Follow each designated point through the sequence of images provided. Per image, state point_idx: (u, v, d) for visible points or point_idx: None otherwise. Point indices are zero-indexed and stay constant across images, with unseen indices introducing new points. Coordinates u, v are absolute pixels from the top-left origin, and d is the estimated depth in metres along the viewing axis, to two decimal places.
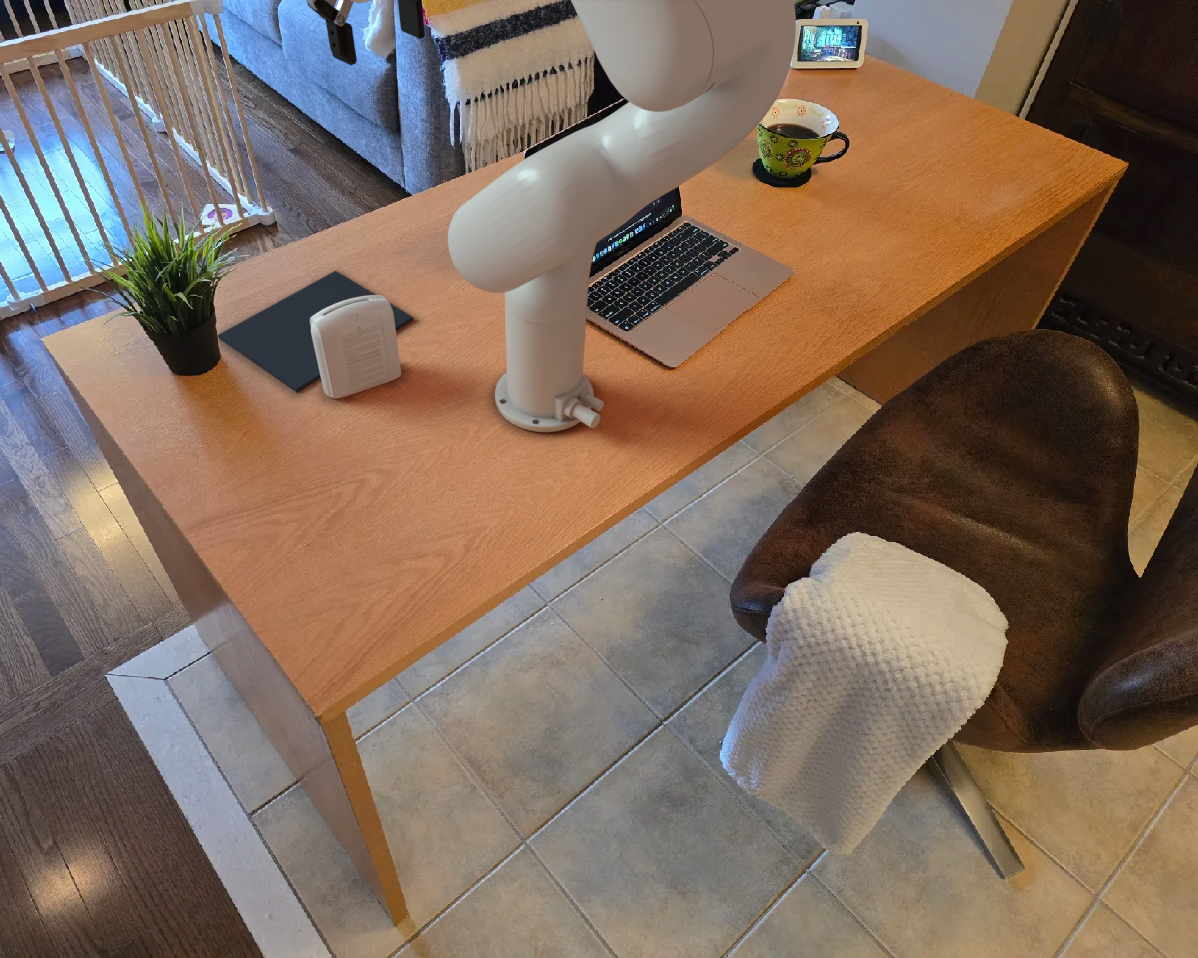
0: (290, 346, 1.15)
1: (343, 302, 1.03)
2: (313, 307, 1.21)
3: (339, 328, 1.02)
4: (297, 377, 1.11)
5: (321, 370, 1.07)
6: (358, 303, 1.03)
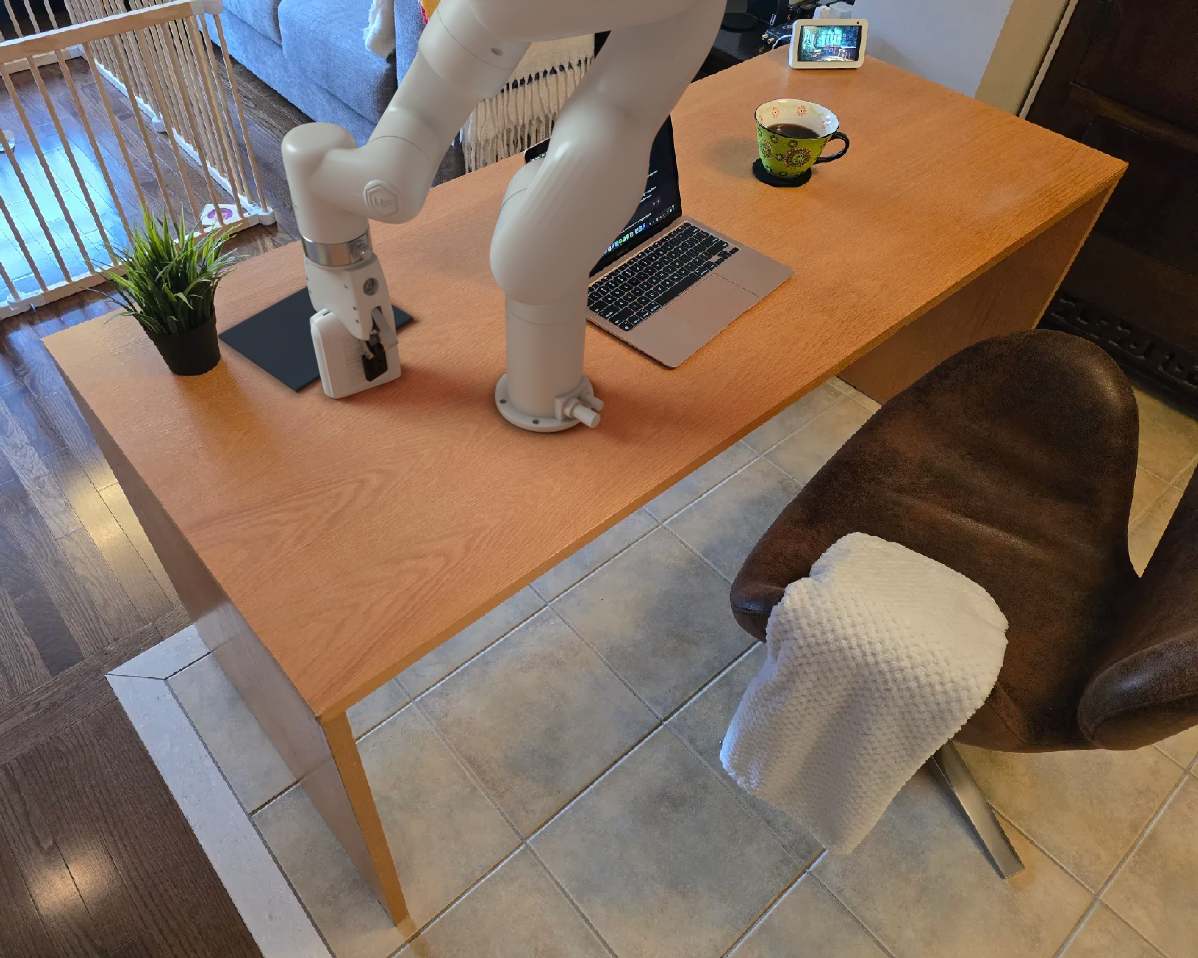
0: (290, 346, 1.15)
1: None
2: (313, 307, 1.21)
3: (339, 328, 1.02)
4: (297, 377, 1.11)
5: (321, 370, 1.07)
6: None
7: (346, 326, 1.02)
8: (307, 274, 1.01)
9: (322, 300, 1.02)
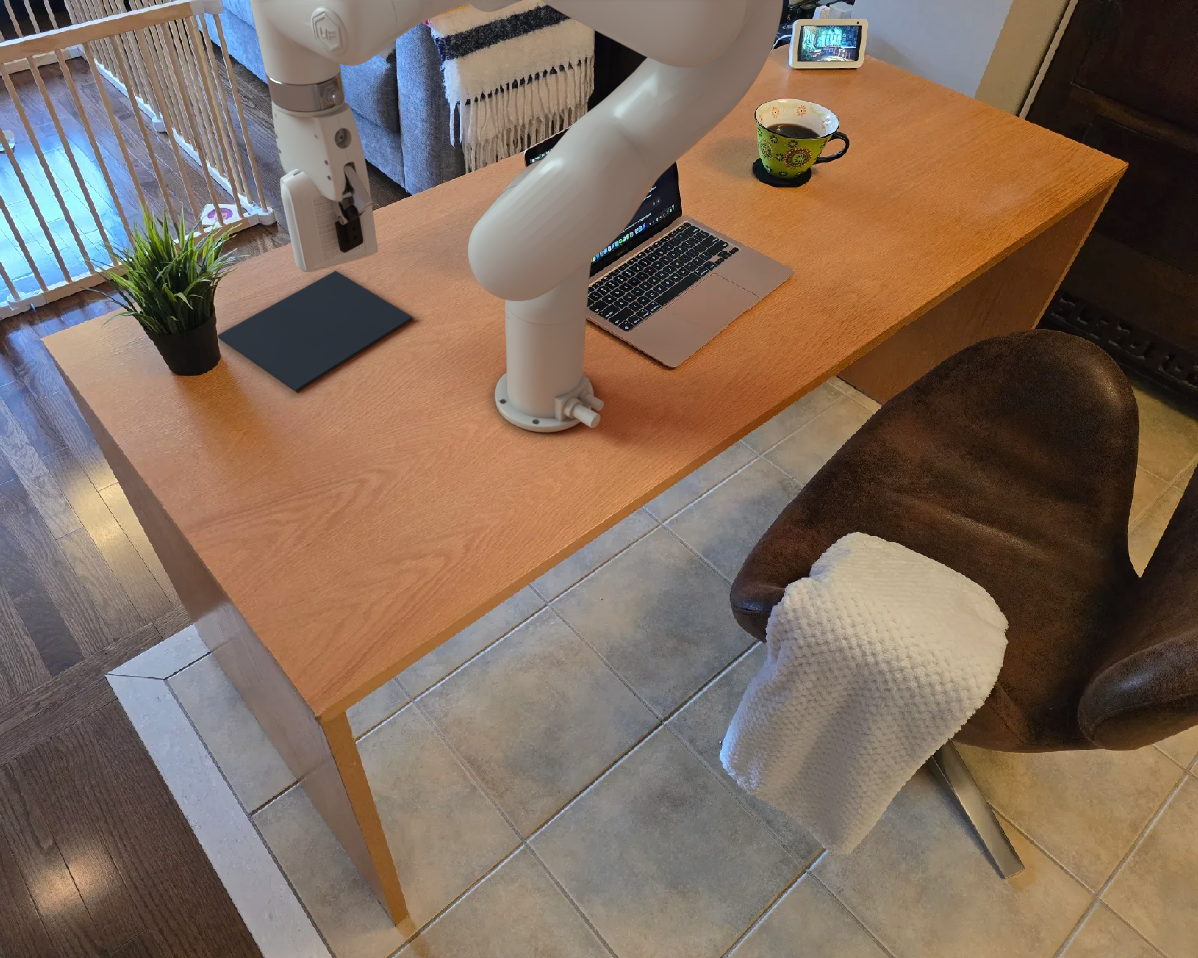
0: (290, 346, 1.15)
1: None
2: (313, 307, 1.21)
3: (310, 189, 0.97)
4: (297, 377, 1.11)
5: (293, 239, 1.02)
6: None
7: (318, 186, 0.97)
8: (276, 130, 0.96)
9: (293, 158, 0.97)
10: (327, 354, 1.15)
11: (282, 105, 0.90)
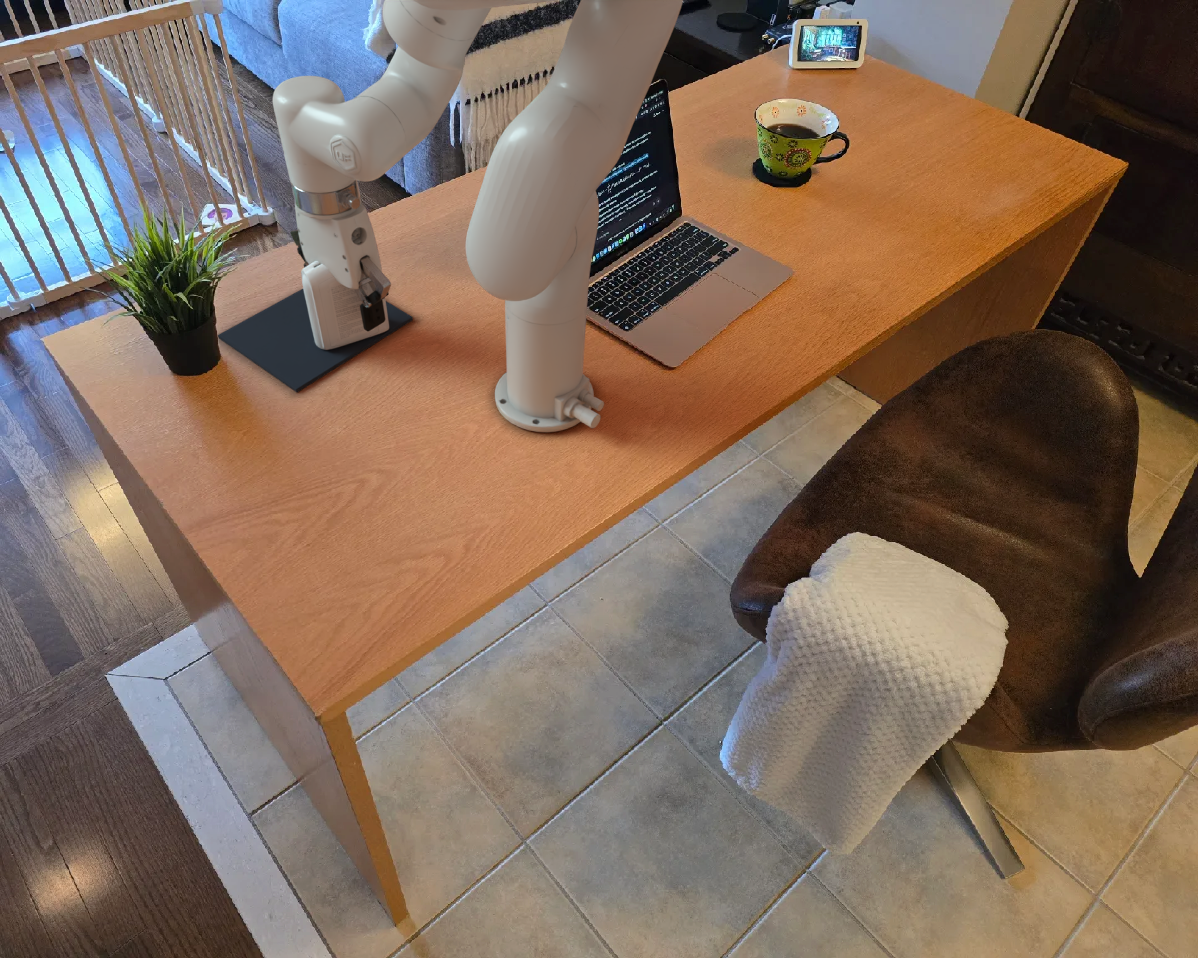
0: (290, 346, 1.15)
1: None
2: None
3: (328, 279, 1.08)
4: (297, 377, 1.11)
5: (312, 322, 1.12)
6: None
7: (336, 276, 1.07)
8: (299, 226, 1.06)
9: (313, 251, 1.07)
10: (327, 354, 1.15)
11: (305, 209, 1.00)
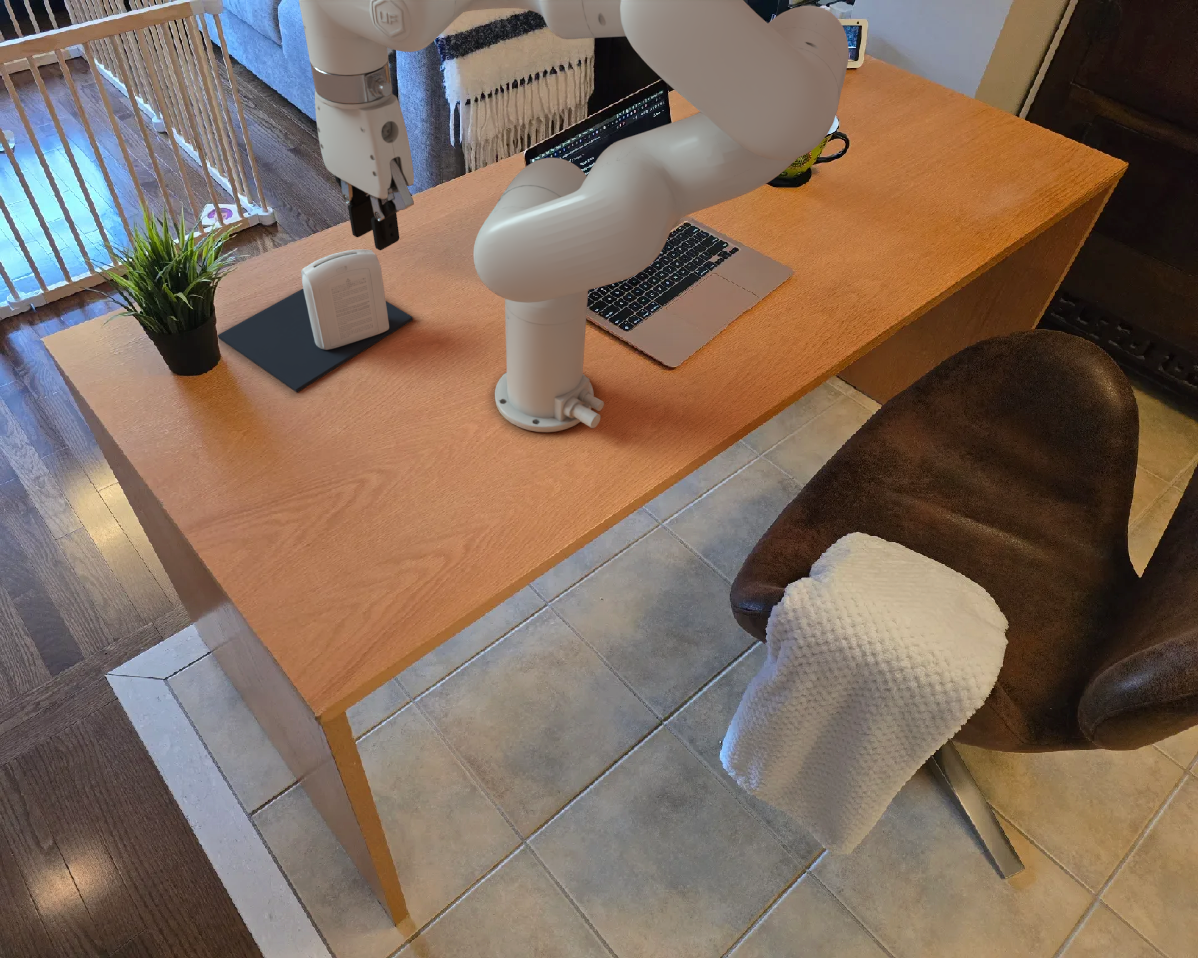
0: (290, 346, 1.15)
1: (333, 255, 1.08)
2: None
3: (329, 279, 1.08)
4: (297, 377, 1.11)
5: (312, 322, 1.12)
6: (347, 256, 1.09)
7: (362, 183, 0.93)
8: (319, 123, 0.91)
9: (336, 153, 0.92)
10: (327, 354, 1.15)
11: (327, 97, 0.85)
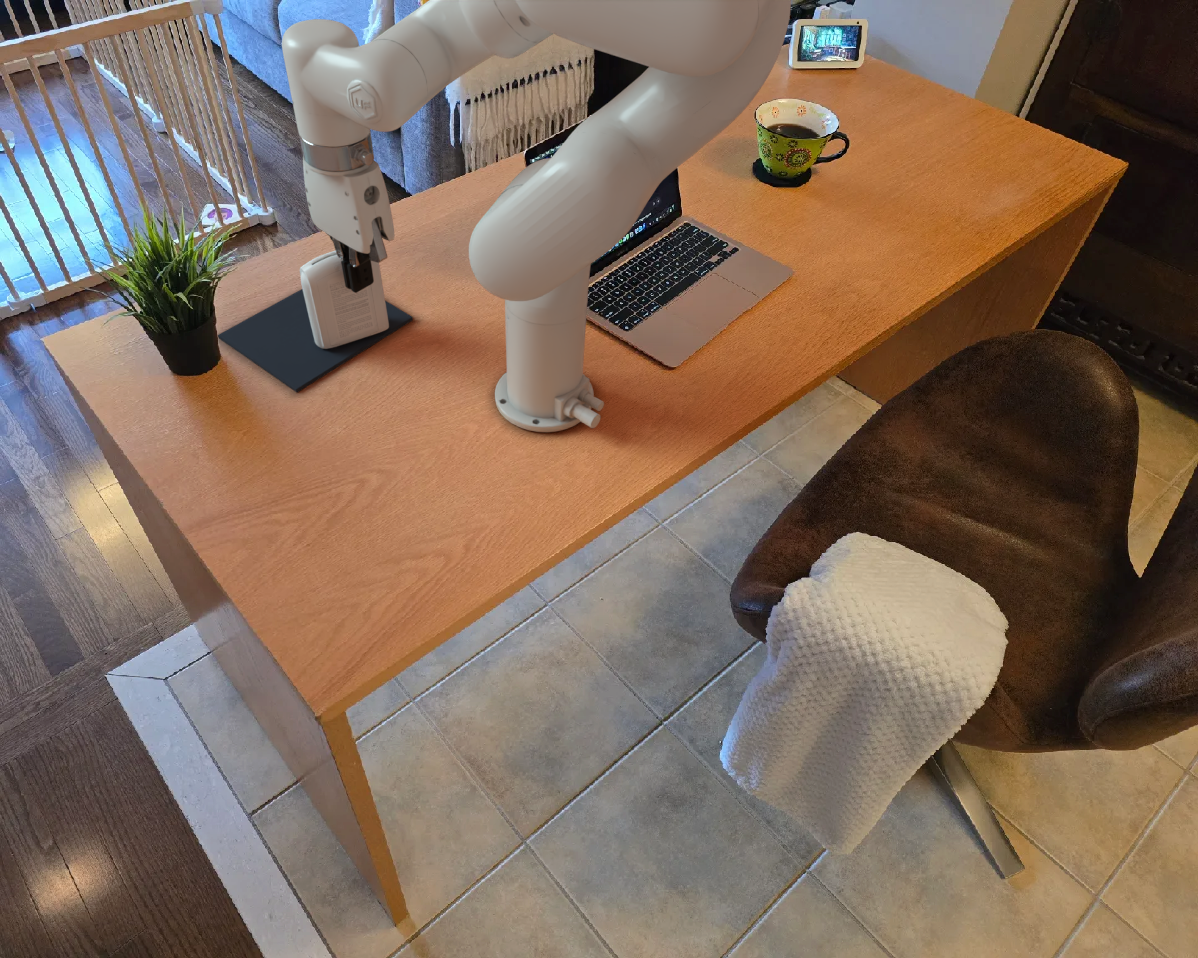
0: (290, 346, 1.15)
1: (331, 252, 1.09)
2: None
3: (327, 276, 1.08)
4: (297, 377, 1.11)
5: (311, 320, 1.12)
6: None
7: (346, 239, 1.01)
8: (307, 185, 0.99)
9: (322, 212, 1.00)
10: (327, 354, 1.15)
11: (314, 165, 0.93)
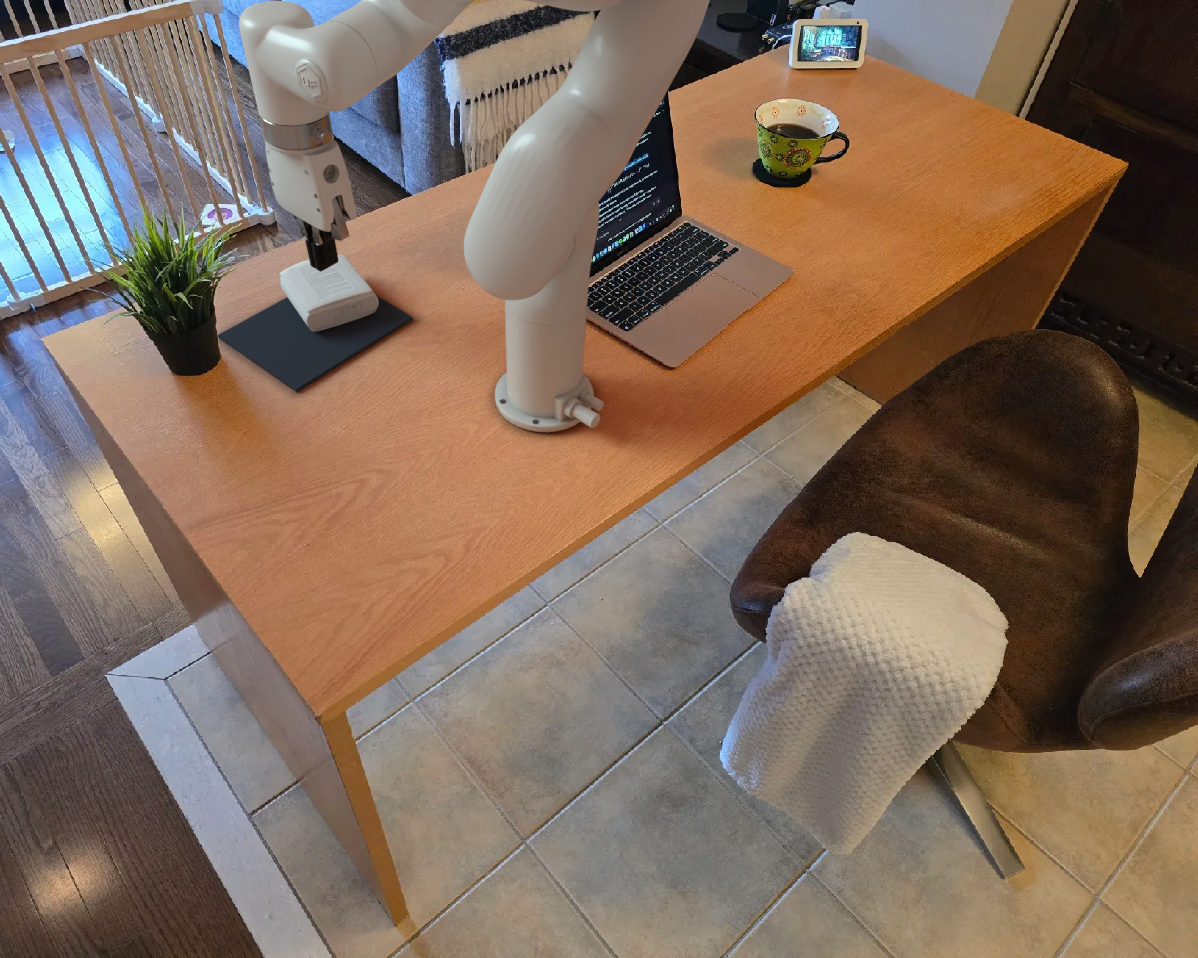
0: (290, 346, 1.15)
1: None
2: None
3: (294, 265, 1.20)
4: (297, 377, 1.11)
5: (294, 304, 1.17)
6: None
7: (308, 217, 1.03)
8: (269, 164, 1.02)
9: (285, 191, 1.03)
10: (327, 354, 1.15)
11: (274, 144, 0.96)
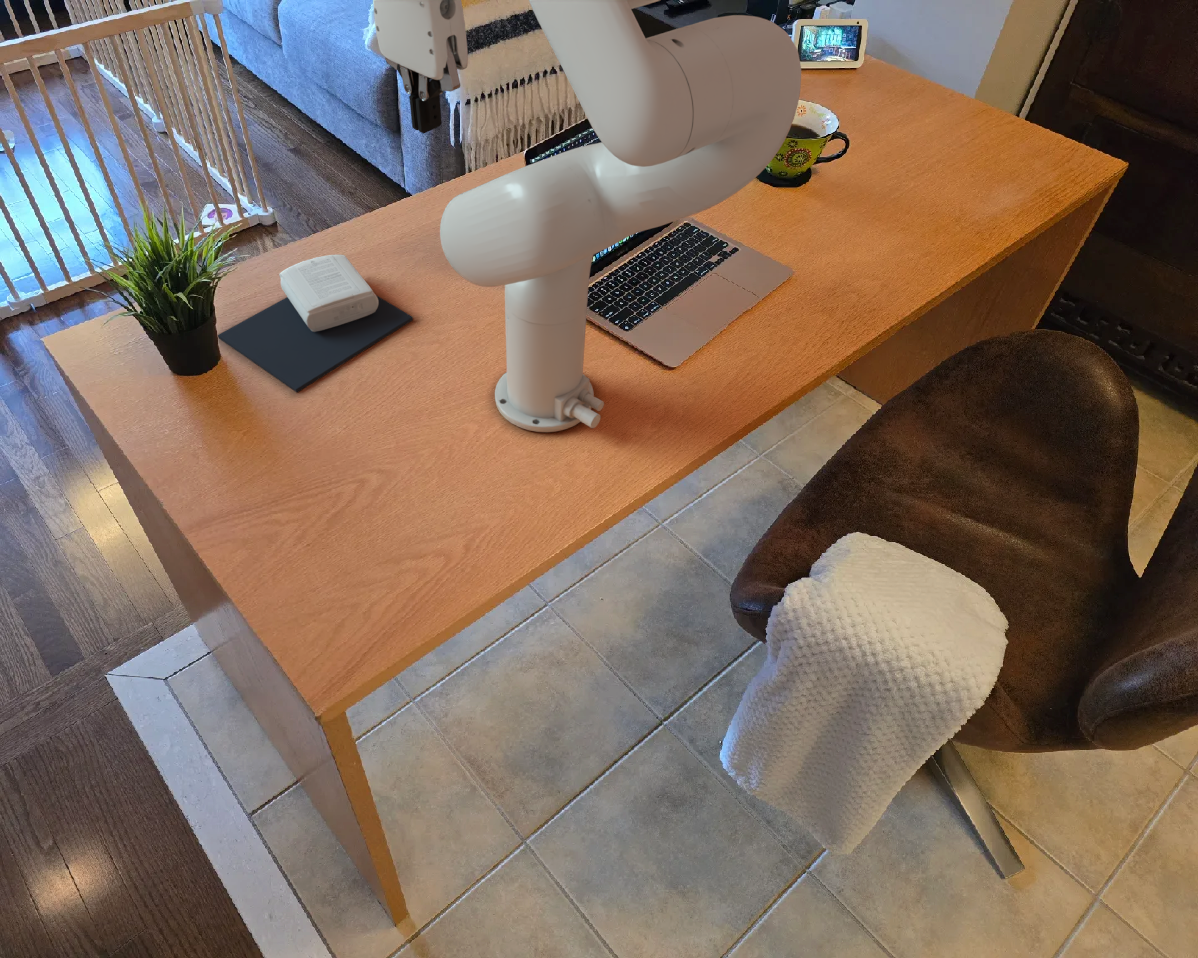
0: (290, 346, 1.15)
1: None
2: None
3: (294, 265, 1.20)
4: (297, 377, 1.11)
5: (294, 304, 1.17)
6: None
7: (417, 63, 0.94)
8: (376, 3, 0.93)
9: (392, 34, 0.94)
10: (327, 354, 1.15)
11: None
